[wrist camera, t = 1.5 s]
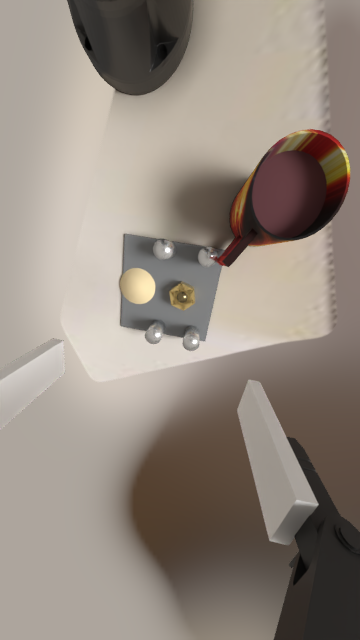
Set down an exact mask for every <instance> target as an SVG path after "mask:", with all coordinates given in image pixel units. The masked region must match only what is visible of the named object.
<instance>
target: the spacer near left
mask: <svg viewBox="0 0 360 640" xmlns="http://www.w3.org/2000/svg"><path fill="white" fill-rule="evenodd" d="M153 252H154V255H155V256H156V257H157V258H158V259H160V260H166V259H170V258H172V257H174V255H175V254H176V246H175V245H174V243H173V242H171V241H168V240H165V239H160V240H158V241H156V242H155V244H154V246H153Z"/></svg>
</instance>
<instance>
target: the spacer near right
mask: <svg viewBox="0 0 360 640" xmlns="http://www.w3.org/2000/svg"><path fill="white" fill-rule="evenodd" d="M217 259H218V254H217V251H216V250H215V249H214V248H213V247H209V246H208V247H204V248H202V249H201V250H200V252H199V254H198V261H199V263H200V264H201V265H202V266H204V267H211V266H213V265H214V264H215V263H216V261H217Z"/></svg>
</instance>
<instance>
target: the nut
mask: <svg viewBox="0 0 360 640" xmlns="http://www.w3.org/2000/svg"><path fill="white" fill-rule="evenodd" d="M169 293H170V300H171V305H172V306H174V307H176V308H179V309H181V310H183V311H184V310H186V309H187V308H189V307H190V306H192V305H193V304H195V290H194V287H193V286H191V285H189V284H187V283H185V282H183V281H182V282H180V283H179V284H177V285H176V286H175V287H173V288H172V289H171V290H170V291H169Z"/></svg>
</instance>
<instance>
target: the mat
mask: <svg viewBox="0 0 360 640" xmlns="http://www.w3.org/2000/svg"><path fill="white" fill-rule="evenodd" d="M158 240H160V239H154V238H148V237H141V236H135V235H129V234H125V240H124V264H123V276H122V278H121V281H120V288H121V291H122V312H121V326H123V327H128V328H134V329H139V330H145V331H147V330H148V329H149V327H150V326H151V324H152V323H153V321H155V320H162V321H163V322H164V323H165V325H166V329H165V331H164V333H163V334H167V335H172V336H178V337H183V338H184V333H185V329H186V328H187V327H188V326H196V327H197V328H198V329H199V340H200V341H205V339H206V335H207V330H208V326H209V321H210V317H211V312H212V308H213V303H214V299H215V294H216V290H217V285H218V281H219V276H220V272H221V268H222V265H219V264H218V263H217V262H216V263H215V264H214V265H213V266H211V267H204V266H202V265H201V264H200V263H199V261H198V254H199V252H200V250H201V249H202V248H204V247H203V246H197V245H191V244H185V243H179V242H173V243H174V245H175V246H176V254H175V255H174V257H172V258H170V259H166V260H160V259H158V258H157V257H156V256H155V255H154V252H153V246H154V244H155V242H156V241H158ZM171 242H172V241H171ZM214 249H215V250H216V251H217V254H218V258H219V257H220V256H221V255H222V253H223V252H224V251H225V250H222V249H216V248H214ZM182 281H183V282H185V283H187V284H189V285H191V286H193V287H194V290H195V304H193V305H192V306H190V307H189V308H187V309H186V310H184V311H183V310H181V309H179V308H176V307H174V306H172V305H171V300H170V293H169V291H170V290H171V289H172V288H173V287H175V286H176V285H177V284H179V283H180V282H182Z"/></svg>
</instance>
